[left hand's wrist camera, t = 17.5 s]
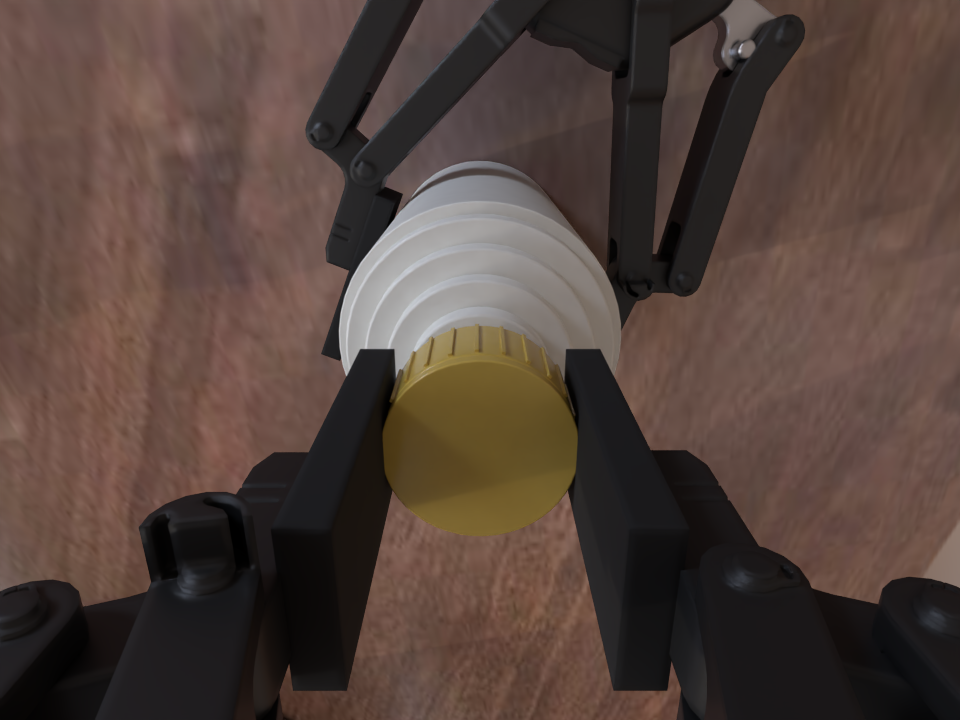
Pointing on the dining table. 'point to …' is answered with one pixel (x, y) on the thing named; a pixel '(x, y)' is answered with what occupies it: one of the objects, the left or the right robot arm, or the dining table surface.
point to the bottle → (480, 271)
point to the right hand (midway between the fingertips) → (437, 381)
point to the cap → (480, 432)
